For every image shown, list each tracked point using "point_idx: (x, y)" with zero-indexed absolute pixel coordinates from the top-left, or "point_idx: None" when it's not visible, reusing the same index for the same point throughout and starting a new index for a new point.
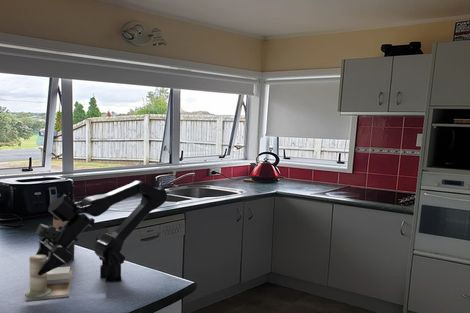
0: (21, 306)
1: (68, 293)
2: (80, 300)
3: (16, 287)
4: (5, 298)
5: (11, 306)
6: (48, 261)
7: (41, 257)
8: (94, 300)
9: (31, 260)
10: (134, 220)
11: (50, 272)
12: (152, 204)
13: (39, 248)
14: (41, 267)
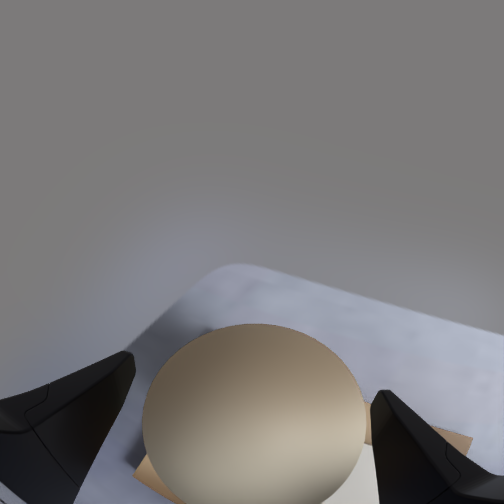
0: (196, 307)
1: (141, 480)
2: (91, 477)
3: (408, 353)
4: (322, 288)
5: (225, 279)
6: (14, 400)
7: (204, 456)
8: None
9: (220, 331)
10: None
11: (330, 497)
12: None
13: (479, 481)
14: (99, 376)
